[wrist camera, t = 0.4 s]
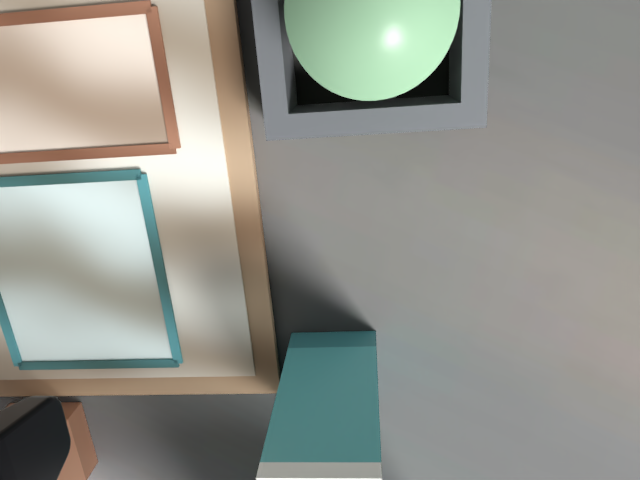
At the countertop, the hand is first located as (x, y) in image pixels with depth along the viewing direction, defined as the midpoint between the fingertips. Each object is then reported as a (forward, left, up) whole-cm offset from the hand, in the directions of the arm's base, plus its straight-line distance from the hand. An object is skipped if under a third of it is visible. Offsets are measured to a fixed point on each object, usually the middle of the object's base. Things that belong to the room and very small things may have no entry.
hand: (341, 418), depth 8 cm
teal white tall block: (-8, +1, -13) cm, 15 cm away
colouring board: (0, +11, -13) cm, 17 cm away
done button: (+6, -1, -11) cm, 12 cm away
